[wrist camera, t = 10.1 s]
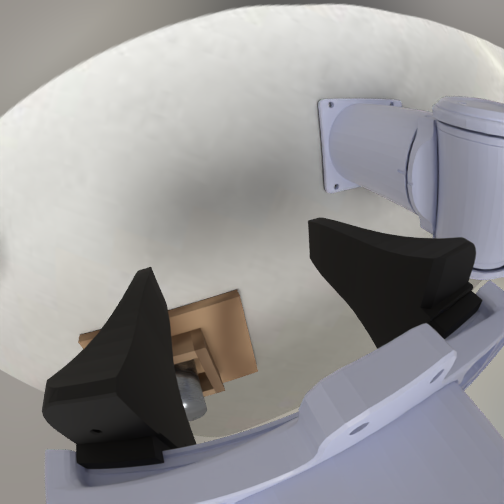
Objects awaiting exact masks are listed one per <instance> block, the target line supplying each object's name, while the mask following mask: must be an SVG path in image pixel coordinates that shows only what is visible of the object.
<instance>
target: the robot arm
mask: <svg viewBox="0 0 504 504" xmlns="http://www.w3.org/2000/svg"><path fill="white" fill-rule="evenodd" d="M329 102H330V103H331V107H329V106H328V104H329ZM390 103H391V106H390ZM318 109H319V119H320V129H321V140H322V153H323V168H324V185H325V190H326V192H328V193H335V192H339V191H343V190H348V189H352V188H357V187H361V186H362V187H364V188H366V189H368V190H370V191H372V192H374V193H376V194H378V195H380V196H382V197H384V198H386V199H388V200H390V201H392V202H394V203H396V204H398V205H400V206H402V207H404V208H406V209H408V210H409V211H411V212H413V213H415V214H417V215H418V216H419V218H420V227H421V228H423V229H424V230H426V231H428V232H429V233H431V234H433V238H414V237H404V236H397V235H391V234H385V233H380V232H376V231H372V230H367V229H364V228H360V227H356V226H353V225H349V224H345V223H342V222H338V221H335V220H330V219H326V218H316V219H313V220H309V221H308V227H309V248H310V259H311V261H312V262H313V264H314V265H315V267H316V268H317V270H318V271H319V272H320V274H321V275H322V276H323V277H324V278H325V279H326V281H327V282H328V283H329V284H330V285H331V286H332V287H333V288H334V289H335V290H336V291H337V293H338V294H339V295H340V296H341V297H342V298H343V299H344V300H345V301H346V302H347V304H348V305H349V306H350V307H351V308H352V310H353V311H354V312H355V314H356V315H357V317H358V318H359V320H360V321H361V323H362V324H363V326H364V327H365V329H366V330H367V332H368V334H369V335H370V337H371V338H372V340H373V342H374V344H375V345H376V347H377V349H376V350H375V351H373V352H371V353H369V354H367V355H365V356H364V357H362V358H360V359H358V360H356V361H354V362H352V363H350V364H348V365H346V366H344V367H342V368H340V369H338V370H336V371H335V372H333V373H332V374H330V375H328V376H327V377H325V378H323V379H322V380H320V381H319V382H318V383H317V384H316V385H315V386H314V387H313V388H311V389H310V390H309V391H308V392H307V393H306V394H305V396H304V399H303V401H302V403H301V405H300V407H299V412H296V413H294V414H291V415H289V416H286V417H284V418H281V419H278V420H276V421H273V422H270V423H268V424H265V425H262V426H259V427H256V428H253V429H250V430H247V431H244V432H240V433H238V434H234V435H230V436H227V437H224V438H220V439H216V440H213V441H208V442H204V443H200V444H196V442H195V439H194V436H193V433H192V431H191V428H190V425H189V422H188V418H187V415H186V412H185V409H184V405H183V402H182V398H181V395H180V391H179V387H178V383H177V378H176V374H175V368H174V361H173V350H172V339H171V326H170V319H169V314H168V309H167V304H166V301H165V299H164V297H163V295H162V292H161V290H160V288H159V285H158V283H157V280H156V278H155V275H154V273H153V271H152V268H151V267H149V268H146V269H142V270H139V271H138V272H137V273H136V275H135V276H134V278H133V280H132V282H131V284H130V285H129V287H128V289H127V291H126V292H125V294H124V296H123V298H122V299H121V301H120V302H119V304H118V306H117V307H116V309H115V310H114V312H113V313H112V315H111V316H110V318H109V319H108V321H107V322H106V323H105V325H104V326H103V327H102V329H101V330H100V331H99V332H98V334H97V335H96V336H95V337H94V338H93V339H92V340H91V341H90V343H89V344H88V345H87V346H86V347H85V348H84V349H83V350H82V351H81V352H80V353H79V354H78V355H77V356H76V357H75V358H74V359H73V360H72V361H71V362H69V363H68V364H67V365H66V366H65V367H64V368H62V369H61V370H60V371H58V372H57V373H56V374H55V375H53V376H52V377H51V378H49V379H48V380H47V383H46V388H45V394H44V401H43V407H42V413H43V416H44V418H45V419H46V421H47V422H48V423H49V424H50V425H51V426H52V427H53V428H54V429H56V430H57V431H58V432H60V433H61V434H62V435H64V436H65V437H67V438H68V439H70V440H71V441H73V442H74V443H76V452H75V451H72V450H66V449H65V450H64V449H58V450H57V449H47V450H45V490H46V504H504V439H503V438H502V436H501V435H500V434H499V433H498V431H497V430H496V429H495V427H494V426H493V425H492V424H491V422H490V421H489V420H488V419H487V418H486V416H485V415H484V414H483V413H482V411H480V409H479V408H478V407H477V406H476V404H475V403H474V402H473V401H472V400H471V399H470V397H469V396H468V395H467V394H466V393H465V392H464V391H465V389H467V388H468V386H469V385H470V384H471V383H472V382H473V381H474V380H475V379H476V378H477V377H478V376H479V374H480V373H481V372H482V371H483V370H484V369H485V368H486V366H487V365H488V364H489V363H490V362H491V361H492V359H493V358H494V357H495V356H496V355H497V353H498V352H499V351H500V350H501V348H502V347H503V346H504V291H503V290H502V289H501V288H500V287H498V286H497V285H496V284H494V283H493V282H492V281H491V280H490V279H495V278H500V277H504V104H503V103H499V102H495V101H491V100H486V99H480V98H473V97H462V96H447V97H442V98H441V99H440V100H439V101H438V102H437V103H436V104H434V105H433V106H432V110H433V112H429V111H423V110H417V109H410V108H403V107H402V103H401V101H400V100H393V99H366V98H342V99H321V100H320V101H319V103H318ZM335 184H336V188H334V186H335ZM469 278H472V279H477V280H490V281H488V282H487V283H486V284H484V285H483V286H482V287H481V288H480V289H479V290H478V292H477V293H476V294H475V293H473V292H472V291H471V290H472V289H473V285H472V284H470V283H469V282H468V281H469Z"/></svg>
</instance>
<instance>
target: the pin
mask: <svg viewBox="0 0 504 504" xmlns="http://www.w3.org/2000/svg"><path fill="white" fill-rule="evenodd" d="M174 368H175V374H176V378H177V383H178V387H179V391H180V395H181V398H182V402H183V405H184V409H185V412H186V415H187V418H188V421H192V420H196V419H198V418H200V417H202V416H203V415H204V414H205V413H206V411H207V407H206V403H205V400H204V396H203V392H202V388H201V384H200V381H199V377H198V372H197V368H196V364H195V360H194V359H191V360H188V361H184V362H181V363H177V364H174Z"/></svg>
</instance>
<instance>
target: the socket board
mask: <svg viewBox="0 0 504 504" xmlns="http://www.w3.org/2000/svg"><path fill="white" fill-rule="evenodd" d="M168 314H169V319H170V326H171V339H172V350H173V361H174V364H177V363H181V362H184V361H188V360H191V359H194V360H195V364H196V368H197V372H198V377H199V381H200V384H201V388H202V392H203V396H204V397H205V396H208V395H212V394H215V393H219V392H222V391H225V388H224V385H223V383H224V382H228V381H231V380H234V379H237V378H240V377H243V376H246V375H249V374H252V373H255V372H258V370H257V365H256V361H255V357H254V353H253V349H252V345H251V341H250V337H249V333H248V328H247V324H246V320H245V316H244V312H243V307H242V303H241V299H240V295H239V293H238V291H237V290H234V291H231V292H228V293H224V294H221V295H218V296H215V297H212V298H208V299H205V300H202V301H199V302H195V303H192V304H189V305H185V306H182V307H179V308H175V309H172V310H168ZM99 331H100V330H97V331H93V332H89V333H85V334H82V335H80V336H79V341H78V343H79V344H80V345H81V346H82V348H83V349H84V348H85V347H86V346H87V345H88V344H89V343H90V341H91V340H92V339H93V338H94V337H95V336H96V335H97V334H98V332H99Z"/></svg>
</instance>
